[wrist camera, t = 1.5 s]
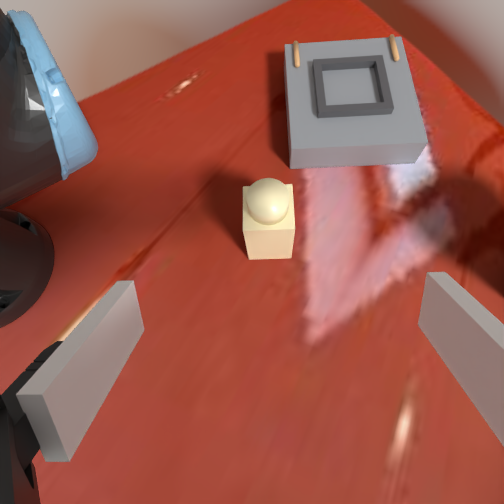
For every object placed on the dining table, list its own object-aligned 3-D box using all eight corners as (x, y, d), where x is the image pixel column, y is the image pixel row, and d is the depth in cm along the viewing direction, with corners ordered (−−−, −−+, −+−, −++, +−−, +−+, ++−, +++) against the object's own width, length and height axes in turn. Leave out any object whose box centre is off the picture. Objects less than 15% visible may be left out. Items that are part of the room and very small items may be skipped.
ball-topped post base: (290, 168, 43) (291, 143, 39) (284, 69, 50) (284, 37, 45) (414, 163, 42) (431, 136, 38) (391, 62, 49) (403, 29, 44)
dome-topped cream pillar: (248, 259, 39) (240, 221, 30) (248, 221, 41) (241, 174, 32) (291, 258, 39) (296, 219, 29) (289, 220, 41) (293, 172, 31)
